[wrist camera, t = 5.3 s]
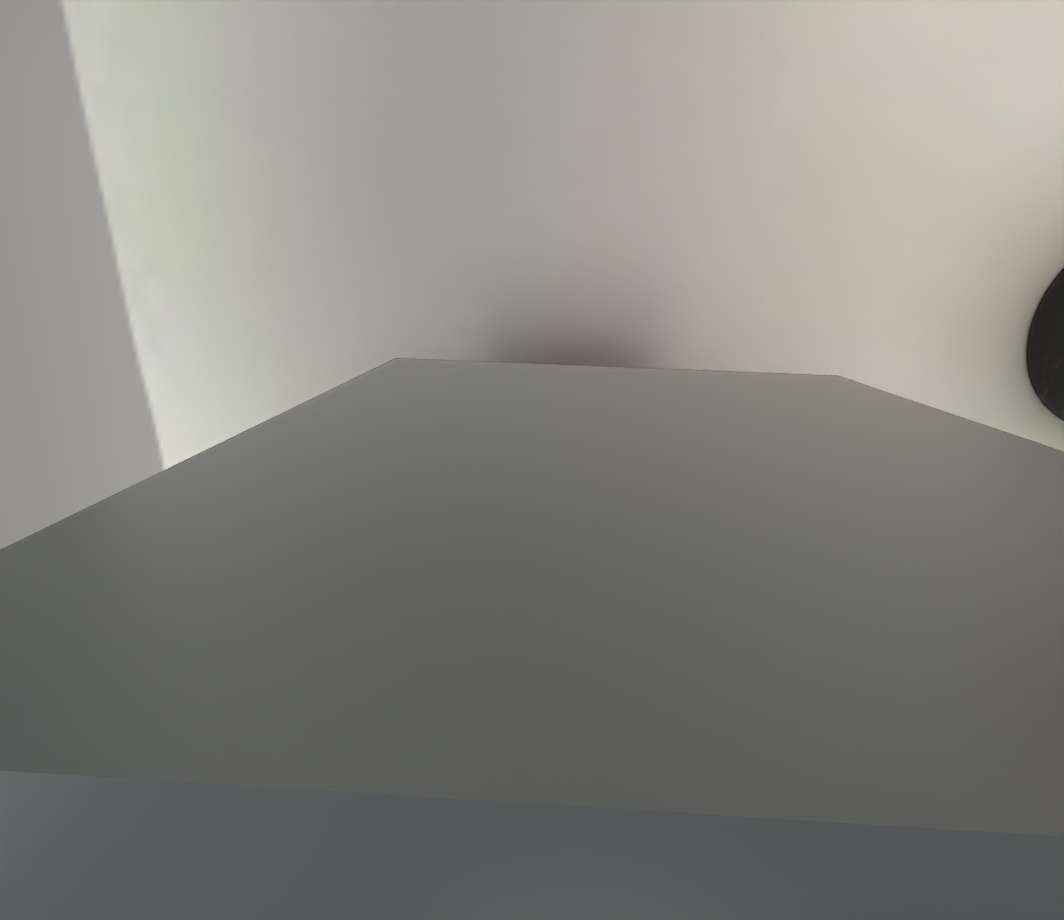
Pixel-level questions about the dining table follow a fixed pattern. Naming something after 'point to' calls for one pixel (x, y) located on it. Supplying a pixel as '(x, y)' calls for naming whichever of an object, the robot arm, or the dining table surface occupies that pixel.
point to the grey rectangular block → (548, 661)
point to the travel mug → (1049, 348)
